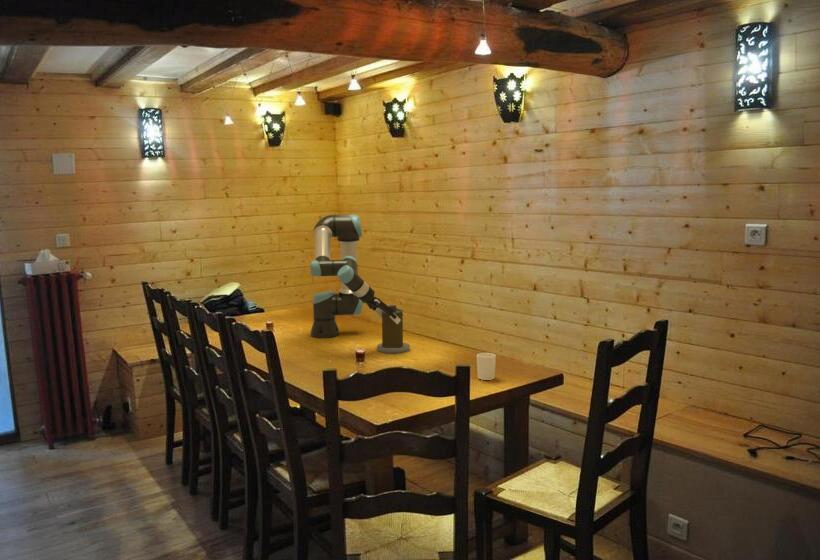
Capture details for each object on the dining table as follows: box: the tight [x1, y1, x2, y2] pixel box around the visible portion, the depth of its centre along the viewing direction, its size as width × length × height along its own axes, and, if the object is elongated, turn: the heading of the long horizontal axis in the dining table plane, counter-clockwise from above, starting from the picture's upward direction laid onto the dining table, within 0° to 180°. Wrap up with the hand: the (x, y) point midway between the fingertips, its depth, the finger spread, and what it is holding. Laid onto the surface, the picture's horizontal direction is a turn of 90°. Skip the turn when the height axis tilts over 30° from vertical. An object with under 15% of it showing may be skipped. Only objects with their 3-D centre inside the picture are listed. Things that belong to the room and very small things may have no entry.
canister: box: [381, 304, 404, 348], centre depth 328 cm, size 11×10×20 cm
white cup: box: [476, 352, 497, 381], centre depth 279 cm, size 8×8×10 cm
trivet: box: [376, 342, 411, 355], centre depth 329 cm, size 16×16×2 cm
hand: (391, 319), depth 326 cm, fingers open, 13 cm apart
